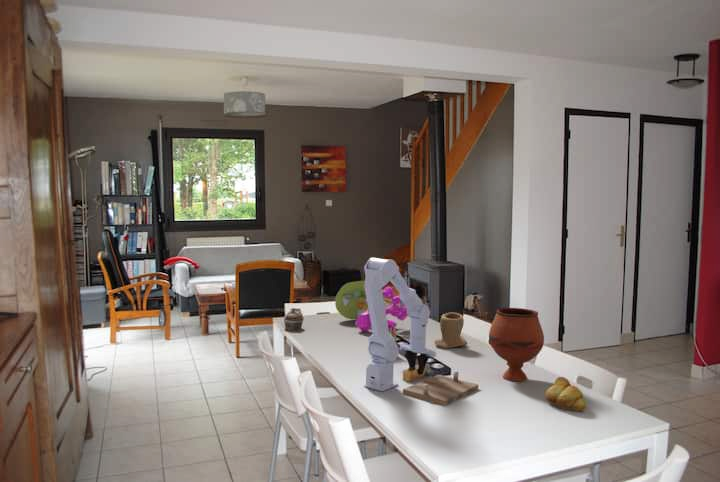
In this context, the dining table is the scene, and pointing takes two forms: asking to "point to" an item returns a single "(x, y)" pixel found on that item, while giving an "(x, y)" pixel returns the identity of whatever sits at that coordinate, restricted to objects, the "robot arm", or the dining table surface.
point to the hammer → (415, 373)
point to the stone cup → (451, 331)
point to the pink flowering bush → (366, 305)
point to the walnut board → (441, 389)
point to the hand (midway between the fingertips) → (416, 372)
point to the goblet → (516, 339)
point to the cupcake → (293, 320)
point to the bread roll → (565, 395)
